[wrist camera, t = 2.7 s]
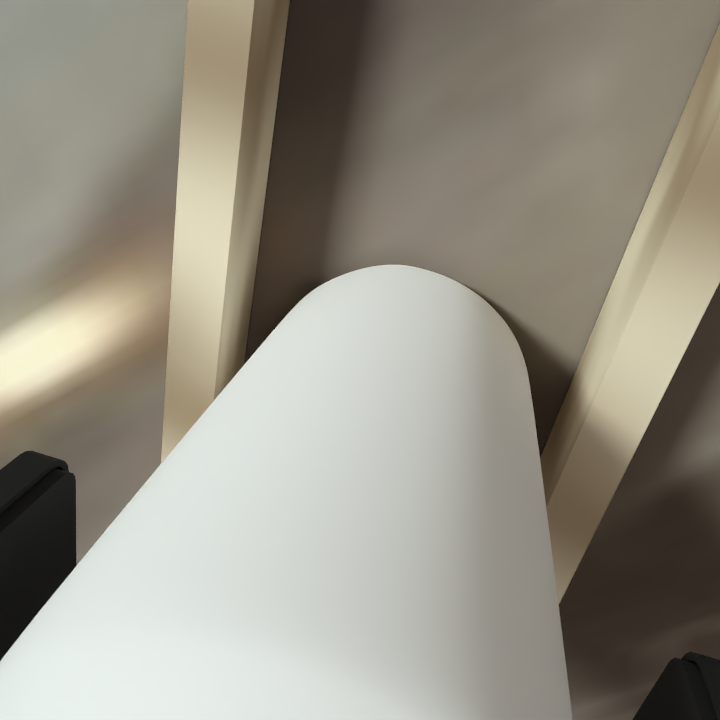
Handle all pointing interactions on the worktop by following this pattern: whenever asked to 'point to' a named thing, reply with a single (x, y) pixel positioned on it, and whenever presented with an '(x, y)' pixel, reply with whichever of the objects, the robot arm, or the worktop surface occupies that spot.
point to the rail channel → (610, 334)
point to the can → (326, 536)
